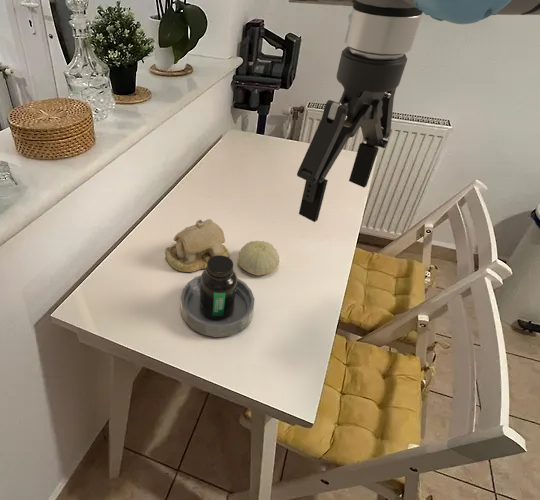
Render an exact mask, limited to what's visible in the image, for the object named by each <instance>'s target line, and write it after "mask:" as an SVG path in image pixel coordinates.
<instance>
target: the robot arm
mask: <svg viewBox="0 0 540 500" xmlns="http://www.w3.org/2000/svg"><path fill="white" fill-rule="evenodd" d="M352 3H353V4H352V9H351V13H349V14H348V17H347V20H348V26H347V30H346V34H345V38H344V44H345V45H346V47H345V48H344V49H343V50H341V53H340V59H339V63H338V67H337V73H336V80H337V82H338V83H339V84H340V85H341V86H342V87H343V92H342V95H341V97H340V99H339V100H338V101H335V100H331V99H328V100H327V101H326V103H325V105H324V108H323V111H322V116H321V119H320V121H319V124H318V126H317V128H316V130H315V132H314V134H313V137H312V139H311V142H310V143H309V146H308V148H307V150H306V153H305V154H304V158H303V159H302V161H301V164H300V166H299V168H298V170H297V172H296V176H297V177H299V178H300V179H303V180H305V183H304V188H303V192H302V196H301V197H302V198H301V202H300V206H299V211H298V215H299V216H302V217H303V218H305V219H308V220H309V221H311V222H313V223H315V222H317V221H318V220H319V216H320V213H321V209H322V205H323V201H324V196H325V193H326V190H327V185H328V179H326V177H327V175H328V174H329V172H330V170H331V169H332V168H333V165H334V164H335V162H336V161H337V159H338V157H339V156H340V154H341V152H342V150H343V149H344V147H345V145H346V143H347V142H348V140H349V139H350V138H353V137H355V136H356V134H357V132H358V131H359V129H361V133H362V138H363V142H361V143H359V145H358V149H357V152H356V155H355V158H354V162H353V165H352V168H351V172H350V176H349V179H348V182H350V183H352V184H355V185H357V186H359V187H361V188H366V187H367V186H368V182H369V180H370V176H371V173H372V170H373V168H374V165H375V161H376V158H377V155H378V152H379V150H380V149H379V148H381V149H386V148H387V145H388V144H389V140H387V139H389V137H390V136H391V130H392V120H393V111H394V110H393V109H394V99H395V94H396V91H397V88H398V87H399V86H400V83H401V81H402V77H403V75H404V71H405V68H406V65H407V61H408V57H407V55H406V54H407V53H409V52H410V51H411V50H412V48H413V45H414V41H415V39H416V37H417V36H416V35H417V33H418V30H419V26H420V23H421V19H422V16H423V14H424V15H425V16H429V17H430V18H431V19H434V20H436V21H439V22H443V21H446V22H449V23H451V24H456V25H469V24H476V23H478V22H480V21H482V20H484V19H487V18H489V17H491V16H493V15H494V16H495V15H496V16H498V15H499V16H500V15H501V16H528V15H529V16H540V0H353V2H352Z"/></svg>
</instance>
